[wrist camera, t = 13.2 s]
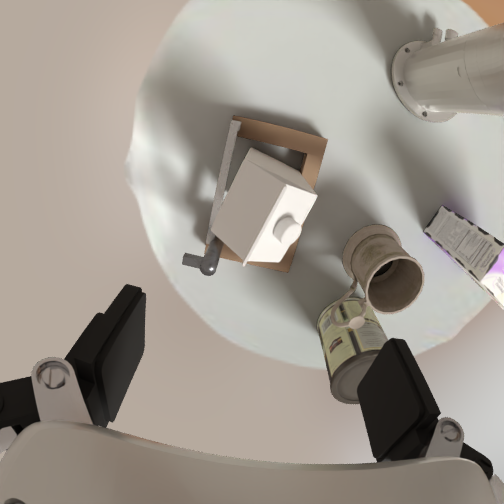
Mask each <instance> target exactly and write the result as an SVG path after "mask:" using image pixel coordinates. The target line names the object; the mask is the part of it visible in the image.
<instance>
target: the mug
mask: <svg viewBox="0 0 504 504" xmlns="http://www.w3.org/2000/svg"><path fill="white" fill-rule="evenodd" d="M342 259H343V265H344V269H345V270H346V272H347V274H348V276H350V277H351V278H352V279H353V280H354V281H353V284H352V285H351V288H350V290H349V291H348V292H347V293H346V294H345V295H343V296H342V297H341V298H340V299H339V300H338V301H337V302H336V303H335V305H334V306H333V308H332V311H331V321H332V323H333V324H334V325H335V326H337V327H348V326H349V327H350V328H352V329H358V328H360V327H362V326H363V325H364V323H365V319H364V318H363V317H364V315H365V314H366V308H367V306H370V307H371V308H372V309H373V310H374V311H376V312H378V313H382V314H394V313H397V312H401V311H403V310H404V309H406V308H407V307H409V306H410V305H411V304H412V303H413V302H414V301H415V300H416V299H417V298H418V296H419V294H420V293H421V291H422V288H423V285H424V272H423V269H422V266H421V265H420V264H419V263H418V261H417V260H416V259H415V258H413V257H410V256H409V254H408V253H407V252H406V251H405V250H404V249H403V248H402V247H401V242H400V239H399V237H398V235H397V234H396V233H395V232H394V231H393V230H392V229H390V228H388V227H386V226H384V225H375V224H374V225H370V226H366V227H364V228H362V229H360V230H359V231H357V232H355V234H354V235H353V236H352V237H351V238H350V239H349V240H348V242H347V244H346V246H345V248H344V252H343V258H342ZM392 260H393V263H392V265H391V267H390V268H389V269H388V270H387V271H386V272H385V273H384V274H382V275H380V276H377V277H373V276H374V274H375V273H376V272H377V271H378V270H379V268H380V267H381V266H383V265H384V264H386V263H388V262H389V261H392ZM357 282H359V284H360V285H361V287H362V289H363V291H364V293H365V298H362V299H360V300H358V303H359V305H360V307H361V309H362V312H361V313H360V315H359V316H356V317H354V318H352V319H351V320H350V321H348V322H344V323H338V322H336V320H335V317H334V315H335V311H336V309H337V308H338V307H339V306H340V305H341V303H342V302H344V301H345V300H346V299H347V298H348V297H349V296H350V295H351V294H352V293H353V291H355V290H356V287H357Z"/></svg>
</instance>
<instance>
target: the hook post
mask: <svg viewBox="0 0 504 504" xmlns="http://www.w3.org/2000/svg"><path fill="white" fill-rule="evenodd" d="M223 245H224V242H223V241H222V240H220V239H219V238H218V237H217V236H216V235H215V239H214V240H212V241H211V242H210V243H209V246H208V248H207V251H206V253H205V255H204V257H201V256H197V255H192V254H188V253H185V254H184V256H183V262H182V264H183V265H187V266H191V267H195V268H200V271H201V272H202V273H203V274H204V275H206V276H211V275H213V274H214V273H215V271H216V268H217V265H218V262H219V258H220V255H221V252H222V248H223Z"/></svg>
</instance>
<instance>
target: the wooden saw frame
mask: <svg viewBox="0 0 504 504" xmlns="http://www.w3.org/2000/svg"><path fill="white" fill-rule="evenodd" d="M232 120H235V121H240V122H242V123H241V127H240V131H238V134H237V136H238V137H243V138H247V139H252V140H256V141H260V142H265V143H269V144H273V145H277V146H281V147H285V148H289V149H293V150H296V151H300V152H304V157H303V161H302V164H301V168H300V173H301V175H302V176H303V177H304V179H305V180H306V181H307V182H308V184H309V185H310V186H311V188H312V189H313V190H314V187H315V184H316V180H317V177H318V173H319V170H320V166H321V162H322V159H323V155H324V152H325V148H326V144H327V141H328V139H325V138H322V137H319V136H315V135H312V134H308V133H305V132H301V131H297V130H294V129H290V128H286V127H282V126H278V125H274V124H270V123H266V122H262V121H257V120H253V119H248V118H244V117H239V116H234V115H233V118H232ZM304 221H305V220H304ZM303 224H304V222H303ZM303 224H302V225H301V228H302V227H303ZM301 231H302V230H301ZM300 234H301V233H300ZM299 237H300V235H299ZM299 237H298V239H297V240H296V241H295V242H294V243H292V244H290V246H289V248H288V250H287V251H286V253H285V255H284V256H283V258H282V259H281V261H280V262H256V261H247V264H251V265H255V266H260V267H265V268H269V269H274V270H278V271H283V272H287V273H288V272H289V269H290V266H291V263H292V260H293V256H294V253H295V250H296V247H297V244H298V240H299ZM208 246H209V244H206V248H205V253H206V251H207V248H208ZM205 253H204V254H205ZM220 258H224V259H229V260H233V261H238V262H242V263H243V260H242V259H241V258H240V257H239V256H238V255H237V254H236V253H235V252H234V251H232V250H231V249H230V248H229V247H228V246H227V245H226V244H225V243H224V245H223V248H222V252H221V255H220Z"/></svg>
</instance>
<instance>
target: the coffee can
mask: <svg viewBox="0 0 504 504" xmlns="http://www.w3.org/2000/svg"><path fill="white" fill-rule="evenodd" d="M358 300H360V298H355V297H350V298H347V299H346V300H345V301H344V302H342V303H341V305H340V306H339V307H338V308H337V309H336V311H335V315H334V317H335V320H336V322H338V323H344V322H348V321H350V320H351V319H352V318H354V317H356V316H359V315H360V313H361V312H362V309H361V307H360V305H359V303H358ZM337 301H338V300H337ZM337 301H335V302H333V303H331V304H330V305H329V306H328V307H326V308H325V309H324V311H323V312H322V313H321V315H320V317H319V319H318V322H317V330H318V333H319V336H320V341H321V345H322V349H323V353H324V357H325V362H326V366H327V371H328V375H329V380H330V389H331V393H332V395H333V396H334V398H335V399H337V400H338V401H340V402H343V403H346V404H360V402H359V399H358V395H357V387H358V385H359V383H360V382H361V380H362V379H363V377H364V376H365V374H366V373H367V371H368V369H369V368H370V366H371V365H372V363H373V361H374V360H375V358H376V357H377V355H378V353H379V352H380V350H381V348H382V347H383V345H384V343H385V342H386V341H388V339H387V337H386V335H385V333H384V331H383V329H382V327H381V325H380V323H379V321H378V319H377V317H376V316H375V314H374V312H373V309H372V308H371V307H370V306H367V308H366V314H365V315H364V317H363V318H364V319H365V323H364V325H363V326H362V327H360V328H358V329H352V328H350V327H349V326H348V327H337V326H335V325H334V324H333V323H332V321H331V311H332V308H333V306H334V305H335V303H336V302H337Z"/></svg>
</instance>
